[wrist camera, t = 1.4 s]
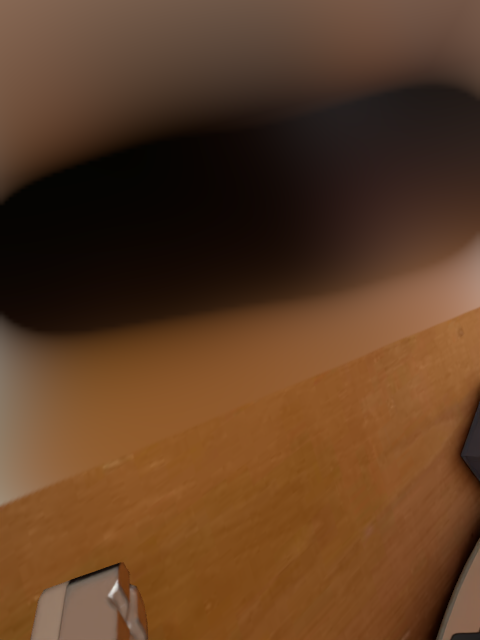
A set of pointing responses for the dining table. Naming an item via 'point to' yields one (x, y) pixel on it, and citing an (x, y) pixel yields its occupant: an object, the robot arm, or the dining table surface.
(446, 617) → the virtual reality goggles
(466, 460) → the blue tray
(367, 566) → the dining table surface
